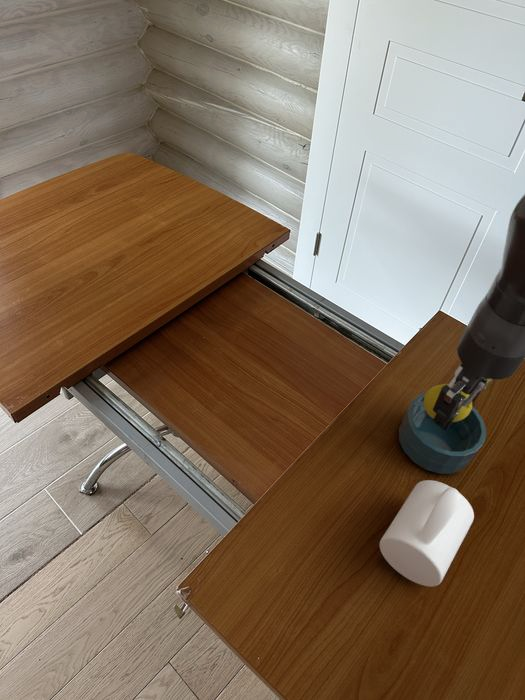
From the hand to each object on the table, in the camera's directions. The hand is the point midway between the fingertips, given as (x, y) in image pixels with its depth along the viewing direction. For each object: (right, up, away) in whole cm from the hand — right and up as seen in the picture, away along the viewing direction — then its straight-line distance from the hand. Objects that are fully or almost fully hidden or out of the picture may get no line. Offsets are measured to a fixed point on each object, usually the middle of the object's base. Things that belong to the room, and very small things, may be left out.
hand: (452, 413), depth 74 cm
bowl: (-1, -5, +6) cm, 8 cm away
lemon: (-3, +1, +3) cm, 5 cm away
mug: (-7, -17, -5) cm, 19 cm away
